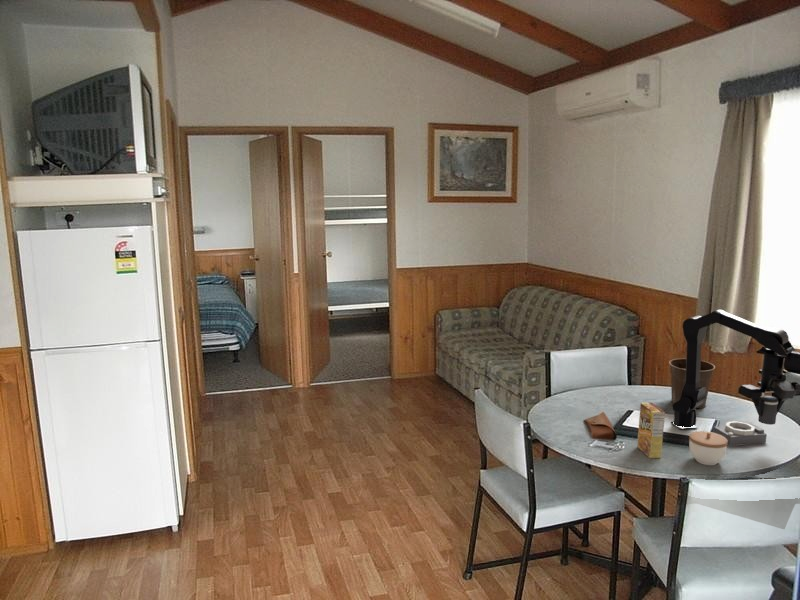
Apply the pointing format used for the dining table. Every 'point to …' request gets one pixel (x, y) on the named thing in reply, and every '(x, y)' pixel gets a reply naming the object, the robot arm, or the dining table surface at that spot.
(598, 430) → the sunglasses case
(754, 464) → the dining table surface
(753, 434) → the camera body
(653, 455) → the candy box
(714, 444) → the lidded jar
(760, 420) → the lens
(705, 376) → the plant pot
